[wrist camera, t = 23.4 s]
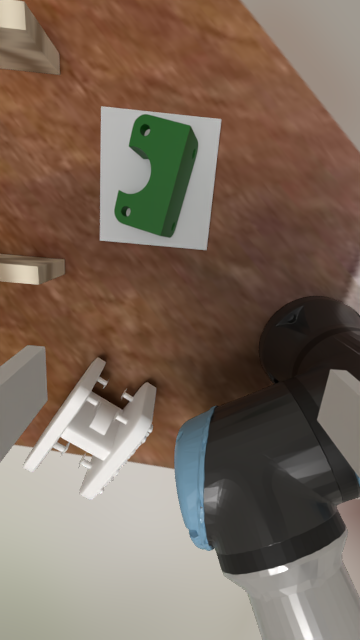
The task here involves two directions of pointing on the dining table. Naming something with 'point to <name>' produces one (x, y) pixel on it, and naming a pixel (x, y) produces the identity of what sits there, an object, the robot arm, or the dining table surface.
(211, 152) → the grey pad
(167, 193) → the clamp
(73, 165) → the dining table surface
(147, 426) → the cable organizer
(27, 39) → the stand
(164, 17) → the dining table surface
